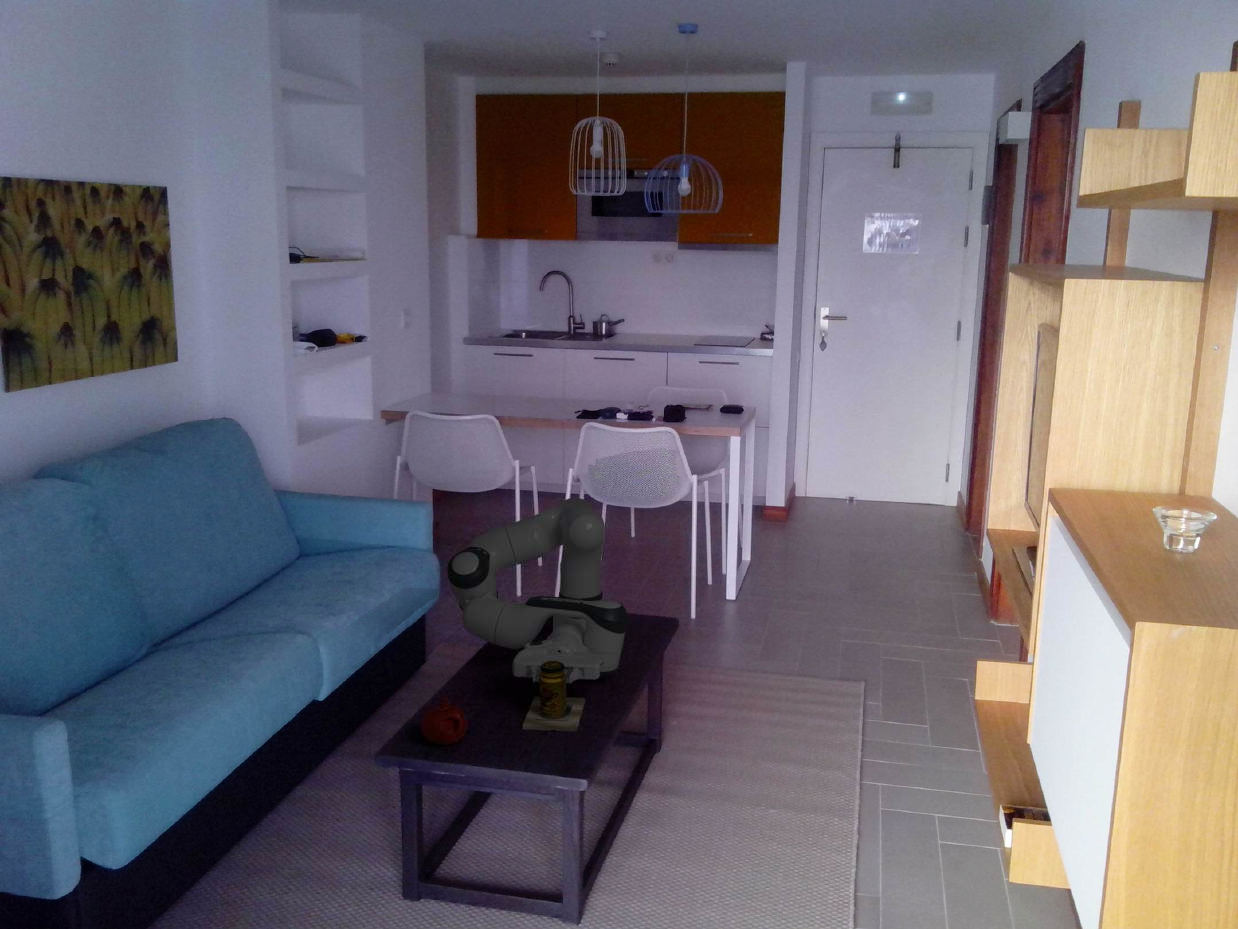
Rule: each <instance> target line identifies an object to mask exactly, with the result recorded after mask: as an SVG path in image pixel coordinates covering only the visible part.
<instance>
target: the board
mask: <svg viewBox="0 0 1238 929" xmlns="http://www.w3.org/2000/svg"><path fill="white" fill-rule="evenodd" d="M566 703H567V704H573V706H572V709H571V712H570V715H569V718H568V721H565V720H558V721H557V720H541V719H536V717H537V714H538V712H539V709H540V695H539V696H537V695H536V696H533V700H532V702H531V704H530V707H529V709H528V711H527V714H526V717H525V719H524V721H523V724H522V730H527V731H528V730H529V731H530V730H531V731H532V730H533V731H551V730H556V731H557V732H577V731H578V728H577V727H579V724H580V720H581V718H582V715H583V711H584V708H585V704H586V698H584V697H567V696H566ZM583 707H584V708H583ZM582 710H583V711H582ZM556 731H555V732H556Z"/></svg>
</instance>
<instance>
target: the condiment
mask: <svg viewBox="0 0 1238 929" xmlns="http://www.w3.org/2000/svg"><path fill="white" fill-rule="evenodd" d="M564 673H565V671H564V664H563V663H562V662H559V661H547V662H545V663H543V664H542V665H541V675H540V678H539V681H540V682H538V683H539V697H540V709H539V712H538V714H537V717H536V719H541V720H557V721H558V720H565V721H568V718H569V715H570V712H571V709H572V706H573V704H567V703H566V697H567V683H565V681H566V679H565V676H566V675H565V674H564Z"/></svg>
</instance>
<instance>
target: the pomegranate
mask: <svg viewBox="0 0 1238 929" xmlns="http://www.w3.org/2000/svg"><path fill="white" fill-rule="evenodd" d="M441 701H442V704H441V703H439V702H438V701H434V700H433V703H434V704H437V705H438V706H436V705H433V704H432V705H430V706H429V707H428V708H426V710H427V711H425V712H424V713H423V715H422V719H421V722H420V729H421V734H422V735H423V736H424V737H425V739H426V740H427V741H429V742H431V743H432V744H436V745H443V746H445V745H446V746H447V745H453V744H455V743H457V742H459V741H460V740H461V739H462V738H463V737H464V736H465V734H466V731H467V728H468V720H467V719H466V716H465V714H464V712H463V710H462V709H463V707H462V708H461V707H460V706H459V705H450V704H451V703H452V702H454V700H449V701H448V697H442V698H441Z"/></svg>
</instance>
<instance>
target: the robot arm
mask: <svg viewBox="0 0 1238 929" xmlns="http://www.w3.org/2000/svg"><path fill="white" fill-rule="evenodd" d="M605 526H606V525H605V522H604V518H603V517H602V515H601V514H600V513H599V512H598V510H597V509H596V508H595V507H594V506H593V505H592V504H591V503H590V502H589V501H588V500H586V499H583V498H580V497H569V498H567V499H565V500H563V501H562V502H560V503H558V504H556V505H553V506H551V507H549V508H546V510H543V511H541V512H538V513H536V514H534V515H532V516H530V517H527V518H523V519H521V520H517V521H514V522H511V523H507V524H505V525H501V526H499V527H496V528H494V529H490V530H489V531H487V532H485V533H482V534H481V535H479V536H477V537H475V538H473V539H472V541H471V542H470V544H469V547H466V548H464V549H463V550H460V551H459V552H456V553H455V554H454V555H453V556H452V557H451V558H450V559H449V561H448V563H447V568H446V571H447V572H446V573H447V579H448V580H449V583H450V584H449V585H450V589H451V592H452V594H453V596H454V598H455V599H456V600H457V602H458V607H459V608H460V610H461V611H462V613H461V623H462V627H463V629H464V630H465V631H466V632H468V634H471V635H472V636H475V637H477V638H478V639H480V640H483V641H485V642H488V643H490V644H494V645H497V646H499V647H503V648H507V649H514V650H519V649H521V650H520V651H519V652H518V653H517V654H516V655H515V657H514V659H513V661H512V675H513V676H514V677H515V678H532V682H533V683H539V682H540V681H539V678H540V675H541V665H542V664H543V663H545V662H547V661H559V662H562V663H563V664H564V671H565V673H564V674H565V675H566V676H565V679H566V681H565V683H566V684H573V681H574V682H575V681H577V680H597V679H599V678H601V677H605V676H608V675H610V674H612V673H614V672H615V671H616V670H617V669H618V668H619V665H620V659H621V654H622V651H623V646H624V640H625V636H626V632H627V628H628V625H629V621H630V615H629V612H628V611H627V609H626V608H625V606H624V605H623V603H621V602H619V601H615V600H612V599H611V600H610V599H608V600H607V599H604V594H603V590H602V558H603V552H604V551H603V550H604V542H605V536H606V534H605V533H606V527H605ZM559 547H561V548H562V549H561V559H560V563H559V564H560V565H559V575H560V576H559V585H560V588H559V589H560V591H559V592H558V596H550V595H548V596H547V595H538V596H532V597H530V598H528V599H527V600H526V601H525V602H521V603H516V602H515V603H514V602H512V601H507V600H502V599H499V593H498V592H499V591H498V589H497V585H496V580H495V575H496V574H497V573H498V572H500V571H502V570H504V569H507V568H511V567H514V566H518V565H521V564H524V563H528V562H531V561H535V560H536V559H540V558H542V557H545V556H547V555H548V554H549V553H550V552H552V551H554V550H556V549H558V548H559ZM551 617H553V619H552V620H553V621H552V622H553V624H552V626H553V627H552V628H553V629H552V632H551V633H550V634H549V635H548V636H547V638H546V639H545V640H541V641H540V640H539V641H534V640H535V639H536V638H537V637H538V635H539V633H540V632H541V630H542V629H543V627H544V625H545V624H546V623H547V621H548V620H549V619H550V618H551ZM533 641H534V642H533ZM522 648H523V649H522Z"/></svg>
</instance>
